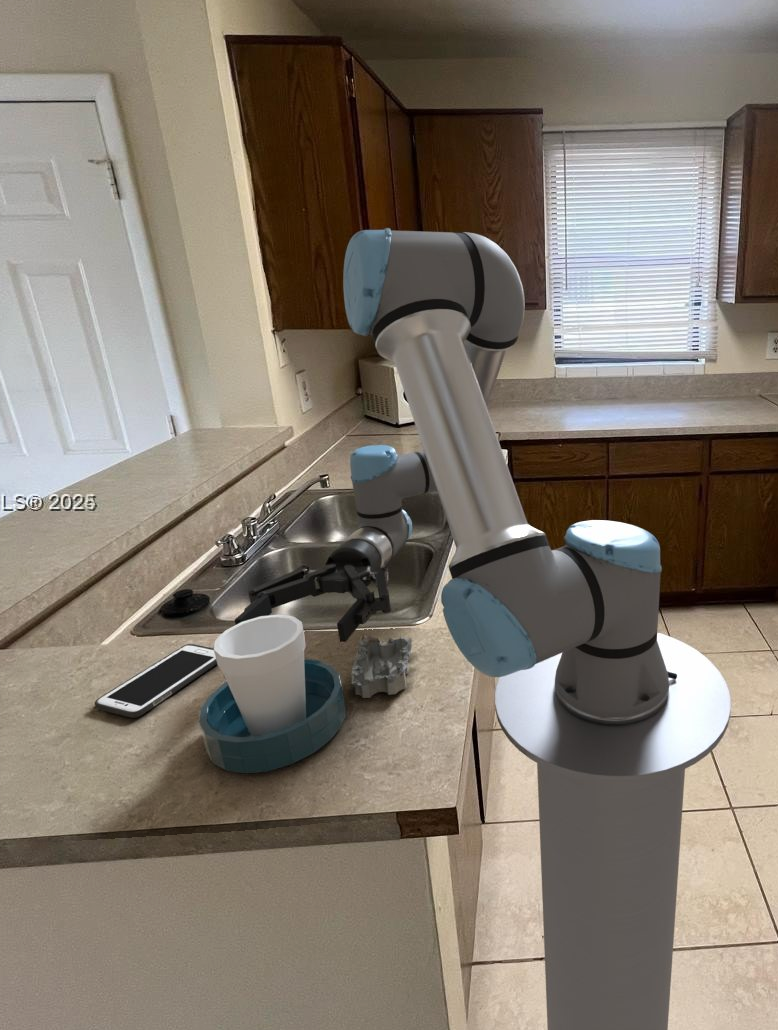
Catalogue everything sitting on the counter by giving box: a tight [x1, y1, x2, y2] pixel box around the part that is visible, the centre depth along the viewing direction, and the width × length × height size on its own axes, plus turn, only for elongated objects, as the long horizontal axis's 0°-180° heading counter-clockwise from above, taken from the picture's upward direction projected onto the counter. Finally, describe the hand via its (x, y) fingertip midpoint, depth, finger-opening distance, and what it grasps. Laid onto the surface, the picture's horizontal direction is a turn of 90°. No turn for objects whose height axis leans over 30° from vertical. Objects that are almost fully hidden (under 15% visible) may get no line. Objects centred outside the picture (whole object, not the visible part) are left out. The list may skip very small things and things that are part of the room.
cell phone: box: [94, 643, 218, 719], centre depth 85 cm, size 8×15×1 cm, turn 163°
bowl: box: [198, 658, 347, 774], centre depth 75 cm, size 16×16×5 cm
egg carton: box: [351, 634, 413, 699], centre depth 86 cm, size 11×8×4 cm
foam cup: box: [213, 614, 307, 736], centre depth 74 cm, size 10×9×13 cm
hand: (289, 631), depth 78 cm, fingers open, 13 cm apart
